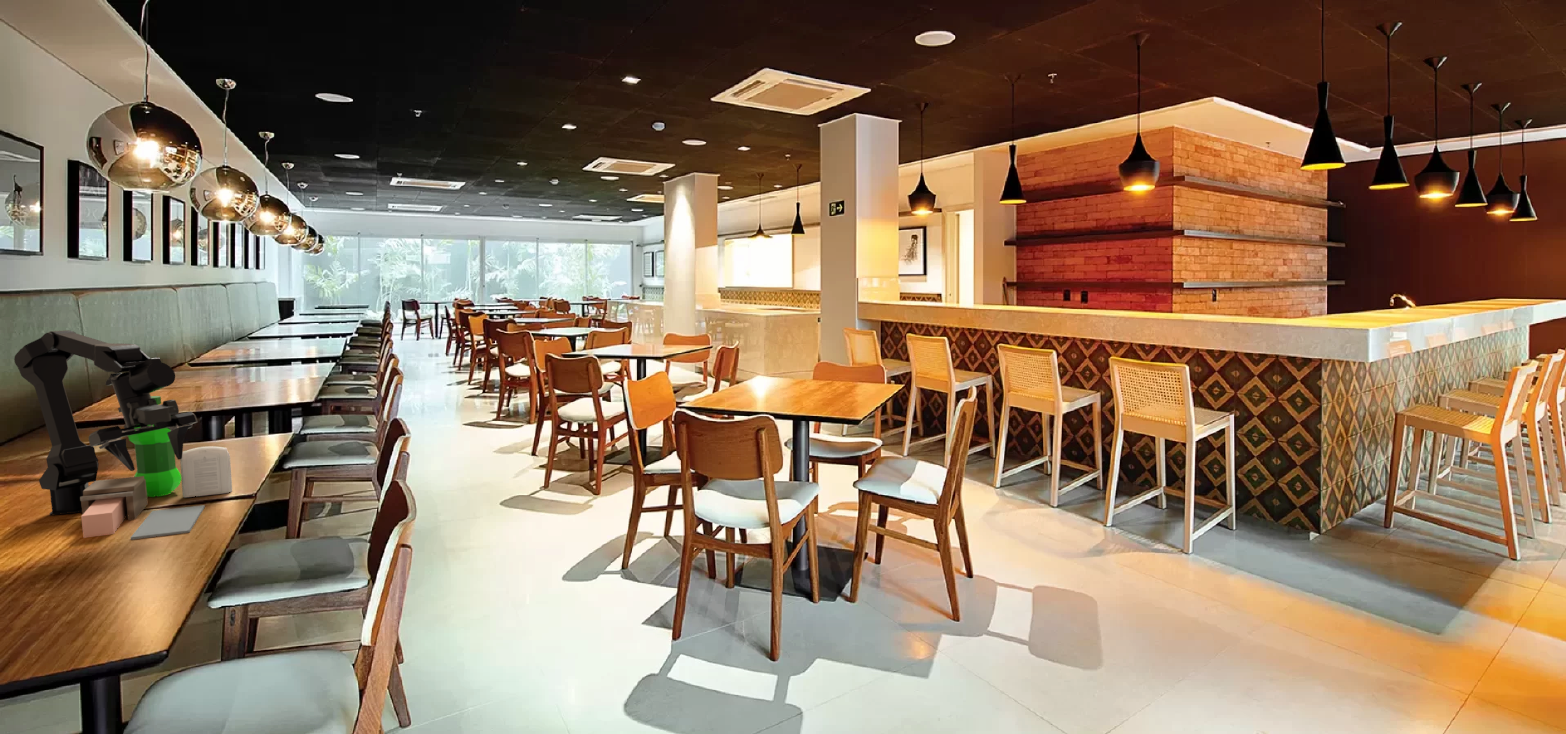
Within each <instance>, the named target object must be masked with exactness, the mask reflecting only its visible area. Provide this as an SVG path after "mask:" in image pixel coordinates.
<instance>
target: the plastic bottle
mask: <svg viewBox="0 0 1566 734" xmlns="http://www.w3.org/2000/svg"><path fill="white" fill-rule="evenodd" d="M161 397H162V396H160V395H151V398H154V399H155V400H156V403H157V404H158V405H161V404H162V398H161ZM147 426H151V425H147ZM153 426H154V425H153ZM137 428H141V427H137ZM134 429H136V428H134ZM135 431H136V430H135ZM168 432H170V429H168V428H164V429H159V430H154V431H149V432H144V433H139V434H134V435H130V436H127V437H128V441H129V442H131V443H133V444H134V452H135V460H136V461H135V462H136V472H135V474H134V475H133V477H140V476H144V479H146V490H147V498H148V497H150V498H156V497H155V496H157V497H162V496H167V495H171V494H172V492H174V491H175V490H176V489H177V488H178V487H179V486H180V485H181V483H182V479H181V471H179V469H178V467H176V455H175V453H174V450H173V448H172V445H171V442H170V440H169V437H168V434H167V433H168Z"/></svg>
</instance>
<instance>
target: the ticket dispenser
mask: <svg viewBox="0 0 1566 734" xmlns="http://www.w3.org/2000/svg"><path fill="white" fill-rule="evenodd" d="M117 497H126V503H127V513H128V515H127V520H128V521H131V519H132V520H136V519H137V518H138V516H139V515H140V514H141V513H142V512H143V510H144V509H145V508H146V507H147V506H148V504H149V503H148V497H147V490H146V479H144V476H140V477H134V476H132V477H131V476H129V477H121V478H111V479H109V478H108V479H101V480H96V481H94V482H91V484H90V485H89V486H88V487H87V488H86V489H85V490H84V491H83V496H82V497H80V501H81V506H82V512H81V513H82V515H83V514H84V513H85V511H86V510H87V509H88V508H89V507H90V506H91V505H92V504H93V502H94V501H95V500H98V499H108V498H117ZM146 505H147V506H146ZM82 515H81V516H82Z"/></svg>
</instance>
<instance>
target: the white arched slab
mask: <svg viewBox="0 0 1566 734" xmlns="http://www.w3.org/2000/svg"><path fill="white" fill-rule="evenodd" d="M179 462H180V474H181V491H182V493H181V494H182V497H183V498H184V499H185V498H192V497H193V498H195V496H196V497H204V496H212V495H213V496H214V495H220V494H221V495H222V494H230V493H232V492H233V482H232V481H233V480H232V466H231V455H230V452H229V451H228V447H225V446H224V447H223V446H215V445H213V446H212V445H211V446H208V445H207V446H198V447H194V448H190V449H188V450H184V451H183V452H182V459H180V460H179ZM229 492H230V493H229Z"/></svg>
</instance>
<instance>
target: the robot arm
mask: <svg viewBox="0 0 1566 734" xmlns="http://www.w3.org/2000/svg"><path fill="white" fill-rule="evenodd" d="M73 356H78V357H81V358H84V359H87V360H91V361H92V362H93V366H94V367H96V368H98V369H100V370H102V371H104V372H106V373H110V374H109V377H108V378H107V379H106V381H105V386H112V387H113V390H114V393H115V396H116V399H117V402H118V406H119V407H117V411H118V413H121V414H122V417H123V420H124V423H125V424H124V425H123V428H121V427H120V426H119V425H115V426H110V427H105V428H100V429H97V430H95V431H93V432H92V433H91V432H90V434H89V436H88V442H89V445H87V444H86V443H84V442H83V441H82V440H81V439H80V436H79V432H78V429H77V426H76V422H75V419H74V416H73V411H72V408H71V406H70V402H69V399H68V396H67V392H66V388H65V385H64V379H65V376H66V374H67V372H68V370H69V365H68V361H69V360H70V359H71V358H72V357H73ZM13 360H14V363H15V366H16V367H17V368H18V370H19V373H20V376H21V377H22V378H23V379H24V380H26V381H27V382H28V383H30V384H31V385H32V386H33V387H34V389H35V393H36V397H37V399H38V403H39V406H40V411H41V413H42V417H43V419H44V423H45V426H46V429H47V432H48V437H49V441H50V443H51V448H50V450H49V452H48V455H47V457H46V464H47V465H46V466H47V467H46V469H45V471H44V472H43V474H42V475H41V477H39V480H38V481H39V486H40V488H41V489H43V490H49V494H50V502H51V503H50V505H51V511H50V512H49V516H55V515H66V514H75V513H82V506H81V501H80V497H82V496H83V491H84V490H85V489H86V488H87V487H88V486H90V485H89V483H93V482H95V481H97V475H98V471H99V459H98V456H97V455H96V450H95V447H96V446H99V447H98V448H99V450H101V449H102V450H103V449H105V450H106V451H107V452H109V453H110V454H111V455H113V456H114V457H115V458H116V459H117V460H119V461H120V462H121V463H122V464H123V465H124V466H125V467H126V468H127V469H128V470H129V471H131V472H133V471H135V469H136V468H135V465H134V462H133V460H132V457H131V455H130V452H129V449H128V448H127V438H124V437H128V436H130V435H134V434H139V433H144V432H149V431H154V430H159V429H164V428H168V429H170V432H168V433H167V434H168V437H169V440H170V442H171V445H172V448H173V450H174V453H175V458H177V460H178V461H180V459H182V452H184V451H183V450H184V441H185V437H186V433H187V431H189V430H188V429H191V428H193V424H197V423H199V421H198V419H197V415H196V414H195V413H193V412H192V411H188V412H183V413H179V411H180V409H179V406H178V403H177V401H176V399H167V400H164V401H162V403H161V404H159V405H158V404H157V403H156V400H155V399H154V398H151V396H152V395H151V393H153V392H156V391H159V390H161V389H164V388H167V387H169V386H171V385H173V384H174V382H175V379H176V373H175V370H174V369H172V367H171V366H169V365H168V364H167V363H165V362H162V361H161V358H160V357H153V358H152V357H150V356H148V355H147V354H146V353H145V351H143V350H142V349H141V347H140V346H139V345H137V344H135V343H115V342H114V343H110V342H106V341H103V340H99V339H95V338H92V337H89V336H87V335H82V334H79V333H77V332H75V331H72V330H68V329H67V330H52V331H48V332H45V333H44V334H43V335H42V336H41V337H39V338H38V339H35V340H33V341H31V342H29V343H27V344H25V345H24V346H23V347H22V348H20V349H19V350H18V352H17V353H16V354H15V355H14V358H13ZM147 425H151V426H147ZM153 425H154V426H153ZM137 427H141V428H137ZM134 428H136V429H134ZM135 430H136V431H135ZM122 438H123V439H122Z"/></svg>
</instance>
